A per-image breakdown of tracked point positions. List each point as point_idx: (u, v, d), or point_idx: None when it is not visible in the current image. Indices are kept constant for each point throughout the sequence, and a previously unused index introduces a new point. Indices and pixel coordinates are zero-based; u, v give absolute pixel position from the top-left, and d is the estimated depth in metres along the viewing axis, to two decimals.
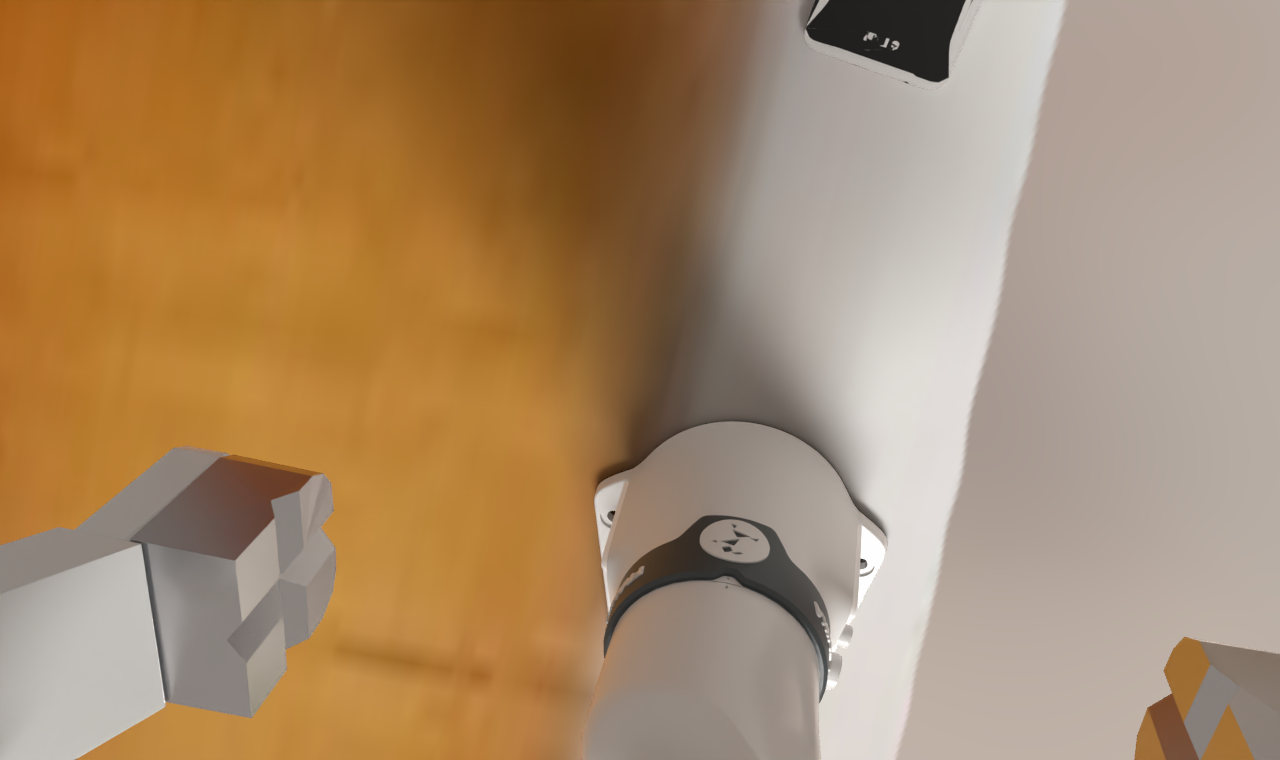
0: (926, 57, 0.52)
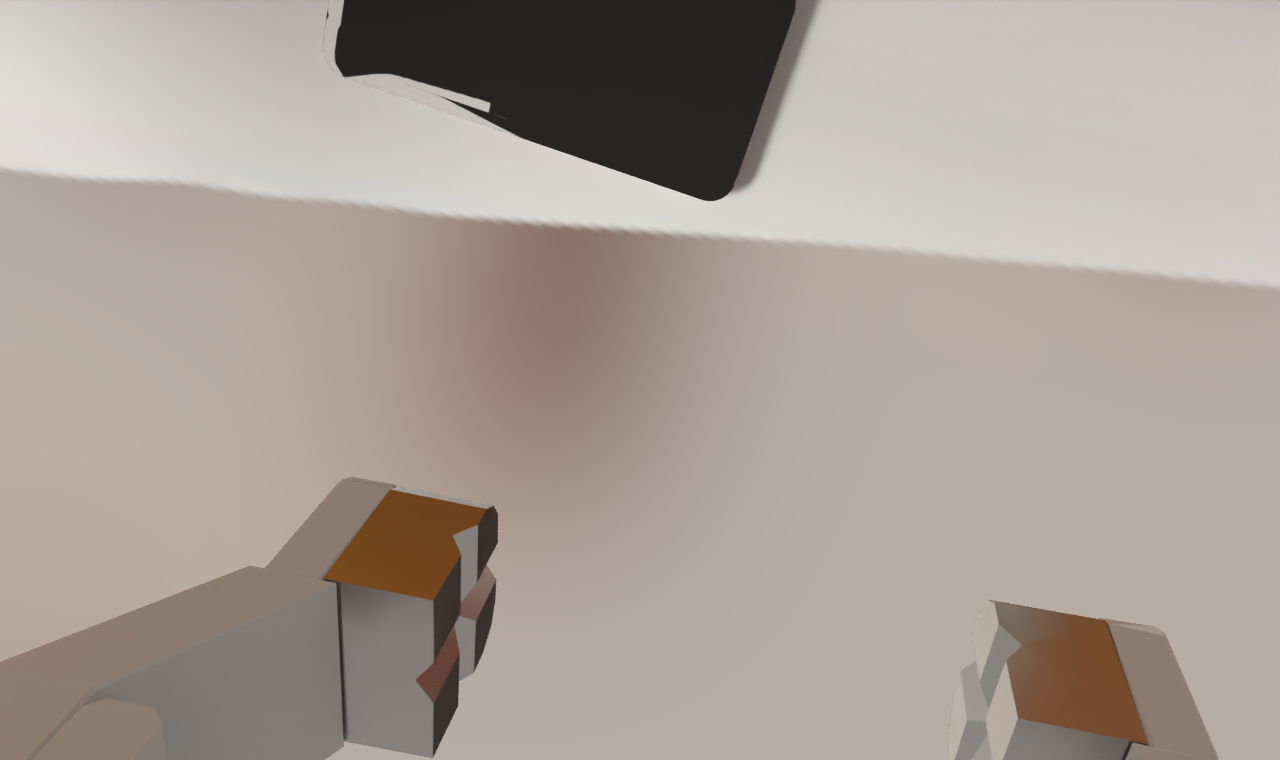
0: (365, 41, 0.35)
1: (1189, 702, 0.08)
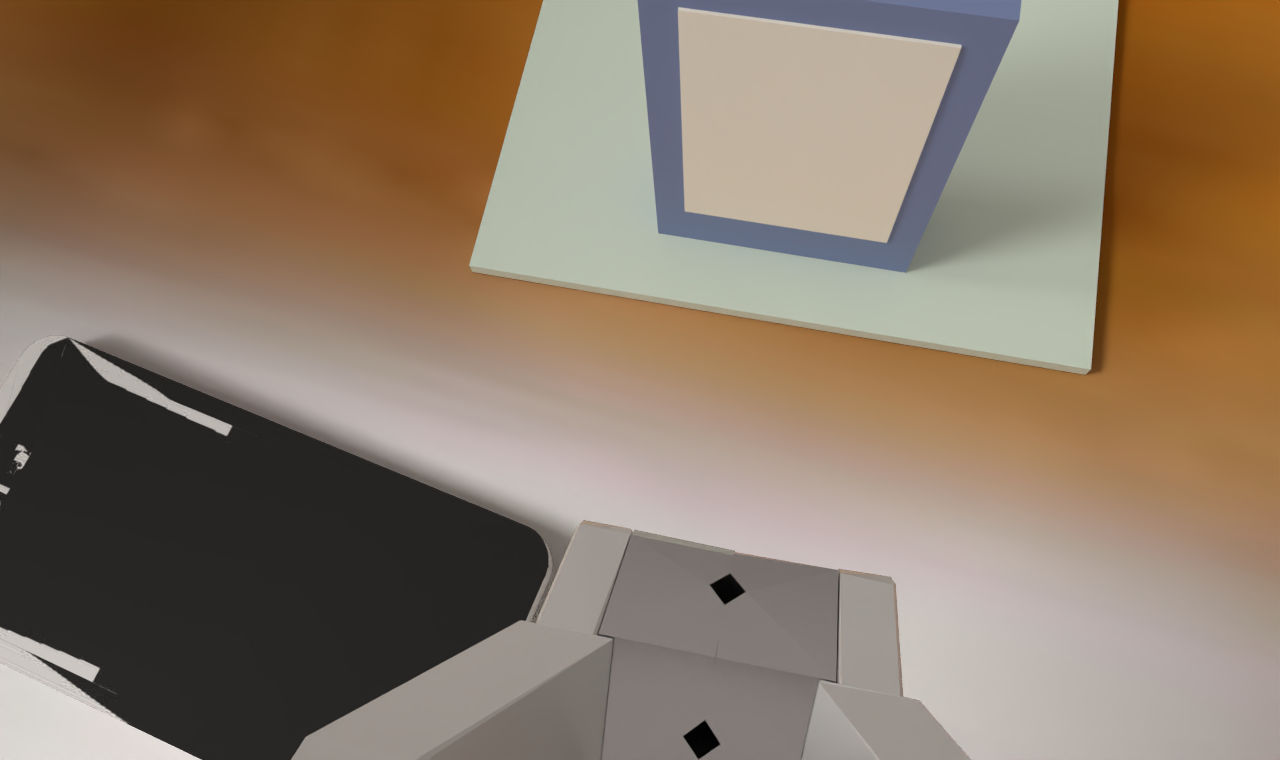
0: None
1: (898, 645, 0.08)
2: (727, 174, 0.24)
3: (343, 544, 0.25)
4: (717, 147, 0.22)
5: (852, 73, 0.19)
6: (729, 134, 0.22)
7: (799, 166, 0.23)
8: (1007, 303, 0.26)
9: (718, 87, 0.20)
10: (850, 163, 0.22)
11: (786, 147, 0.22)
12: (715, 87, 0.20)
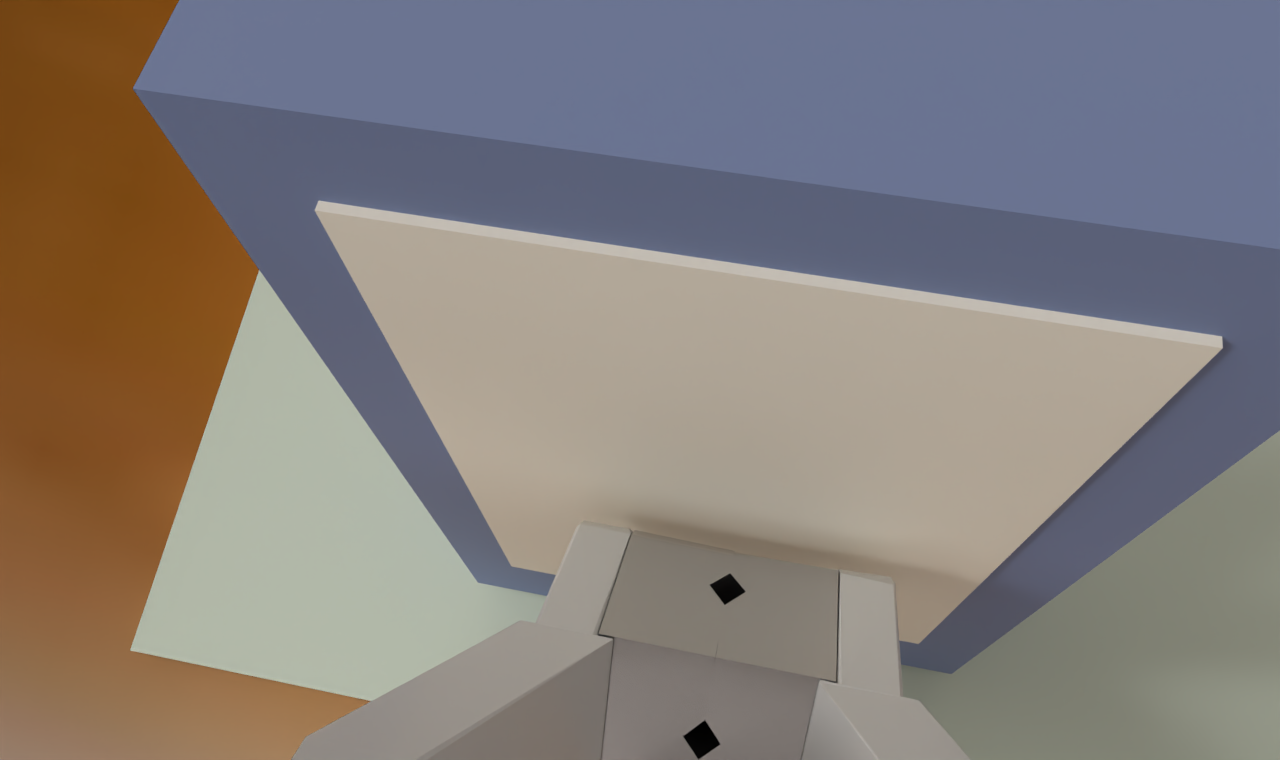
0: None
1: (898, 645, 0.08)
2: None
3: None
4: (540, 490, 0.10)
5: (857, 383, 0.07)
6: (560, 473, 0.09)
7: (728, 534, 0.10)
8: (1146, 746, 0.13)
9: (502, 391, 0.08)
10: (845, 540, 0.09)
11: (696, 500, 0.09)
12: (496, 390, 0.08)
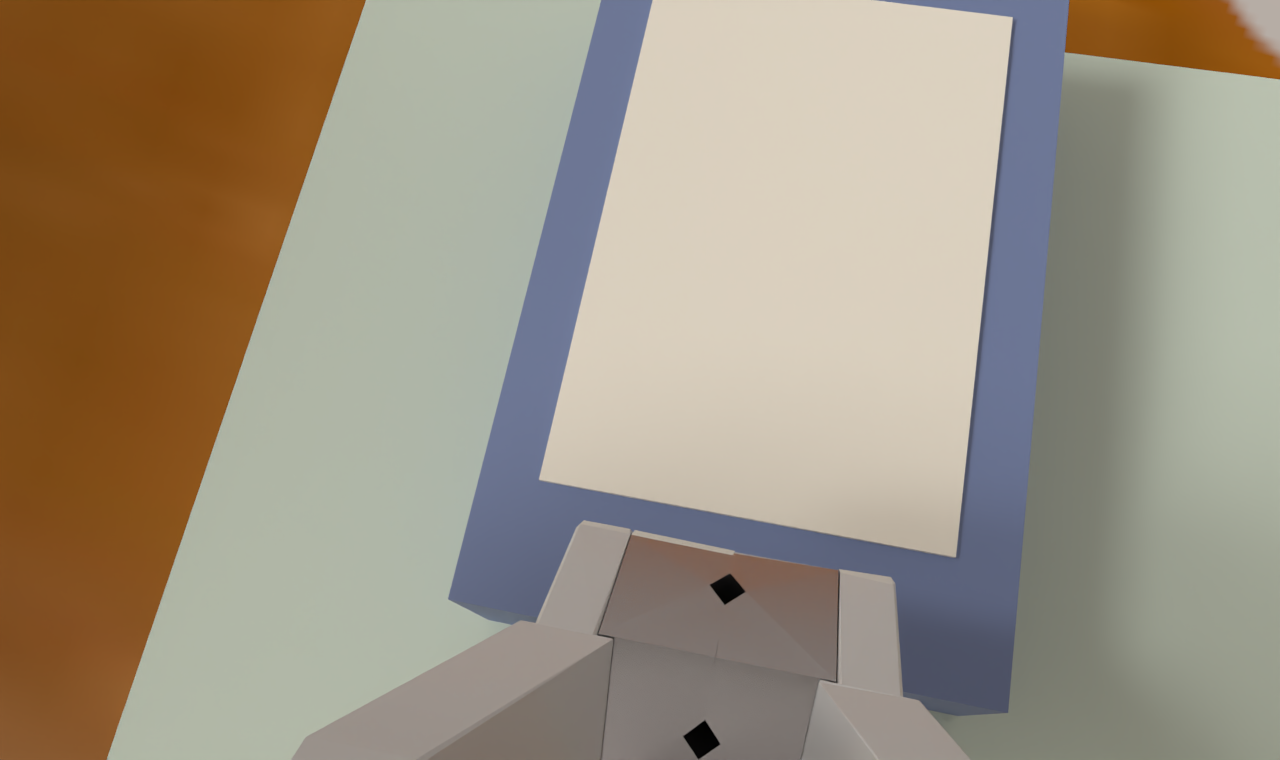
0: None
1: (897, 645, 0.08)
2: (652, 343, 0.13)
3: None
4: (652, 253, 0.13)
5: (875, 81, 0.14)
6: (680, 217, 0.14)
7: (788, 296, 0.13)
8: None
9: (683, 108, 0.14)
10: (876, 277, 0.13)
11: (769, 253, 0.13)
12: (680, 107, 0.14)
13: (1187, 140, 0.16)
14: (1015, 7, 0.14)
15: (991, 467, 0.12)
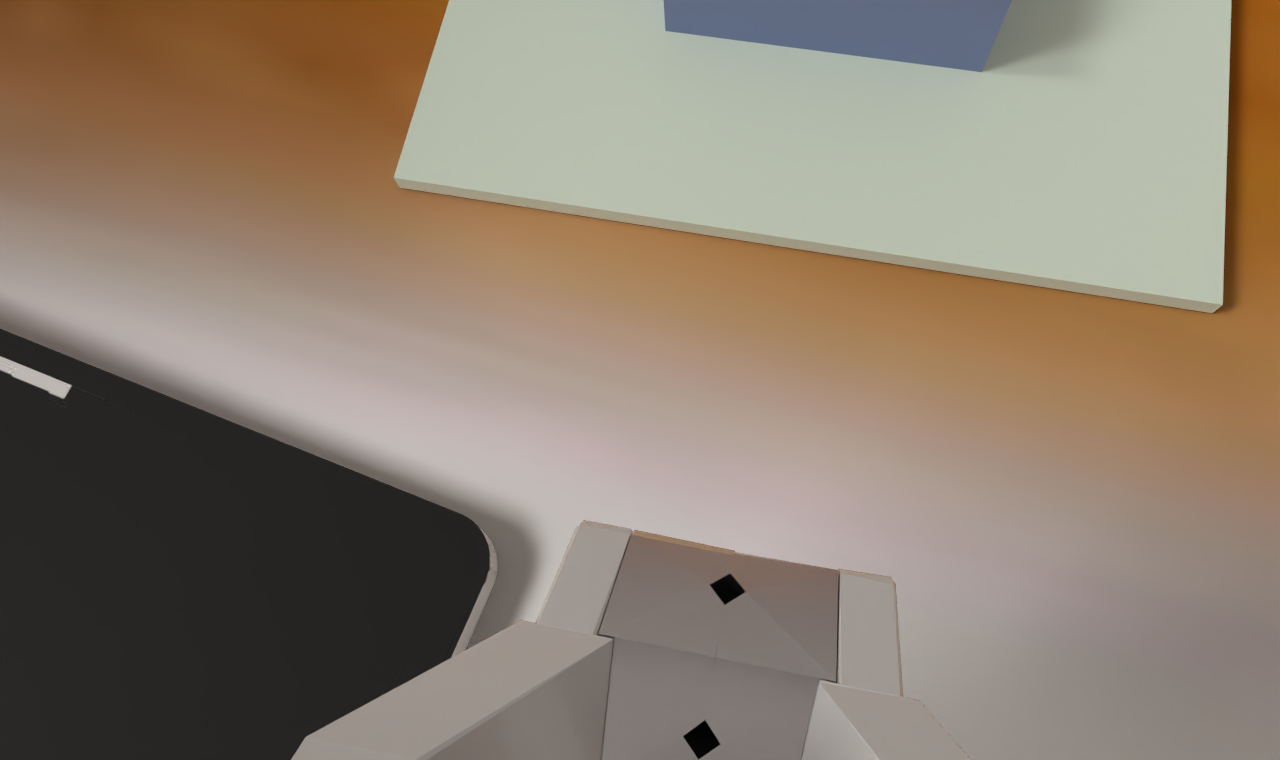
0: None
1: (898, 645, 0.08)
2: None
3: (212, 541, 0.18)
4: None
5: None
6: None
7: None
8: (1106, 219, 0.20)
9: None
10: None
11: None
12: None
13: None
14: None
15: None
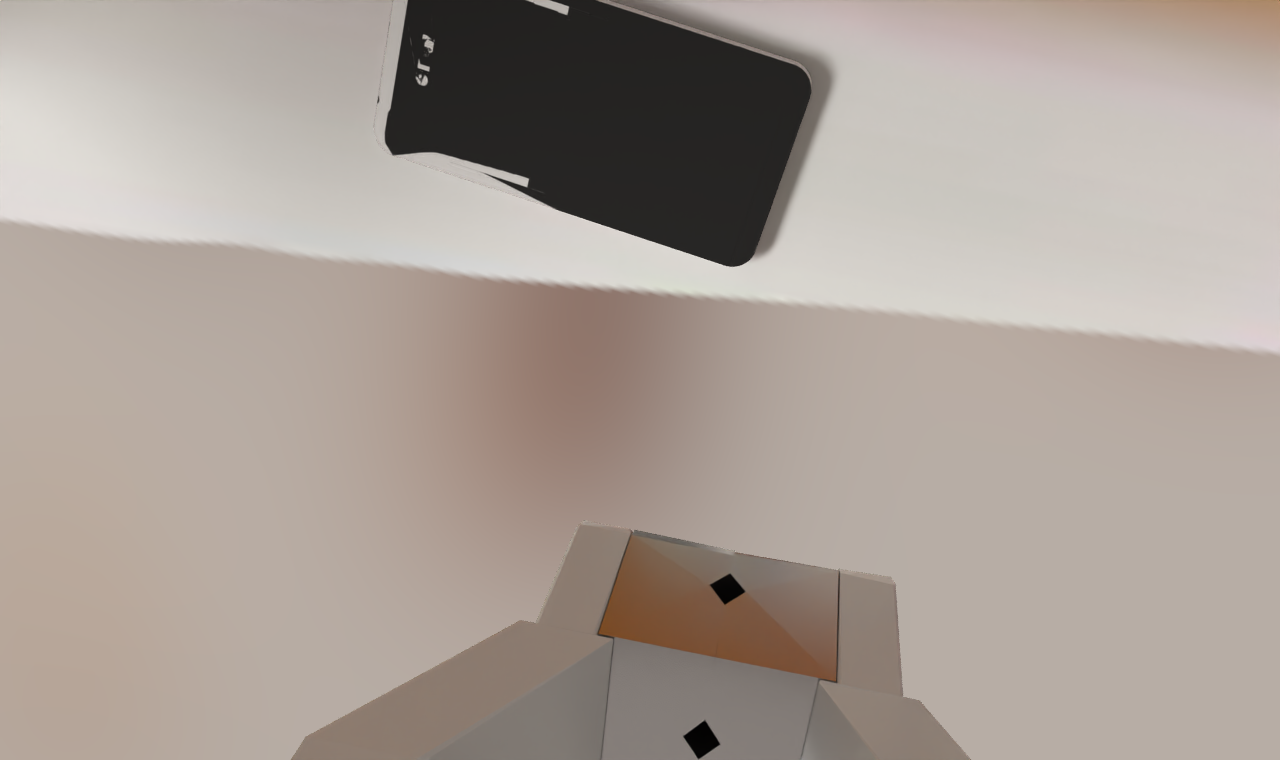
0: (413, 123, 0.38)
1: (898, 645, 0.08)
2: None
3: (666, 87, 0.36)
4: None
5: None
6: None
7: None
8: None
9: None
10: None
11: None
12: None
13: None
14: None
15: None
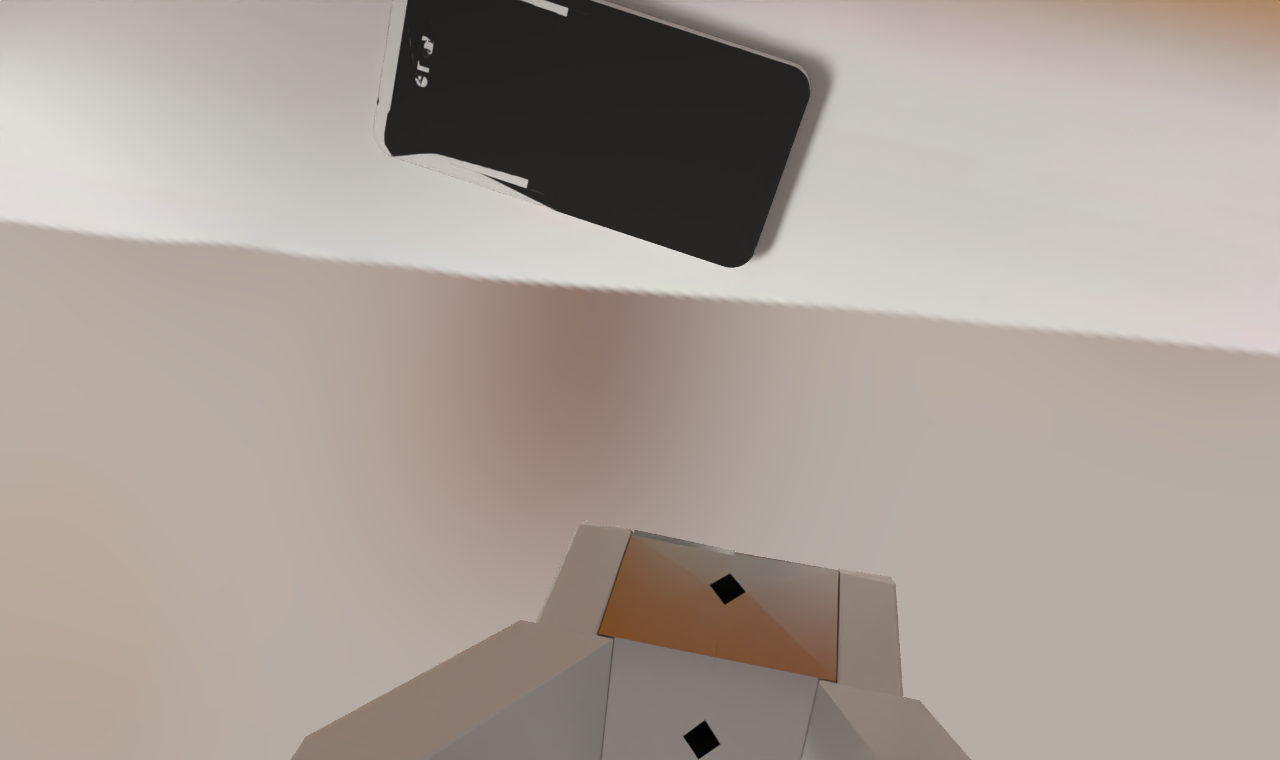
0: (412, 125, 0.38)
1: (897, 645, 0.08)
2: None
3: (665, 89, 0.36)
4: None
5: None
6: None
7: None
8: None
9: None
10: None
11: None
12: None
13: None
14: None
15: None
